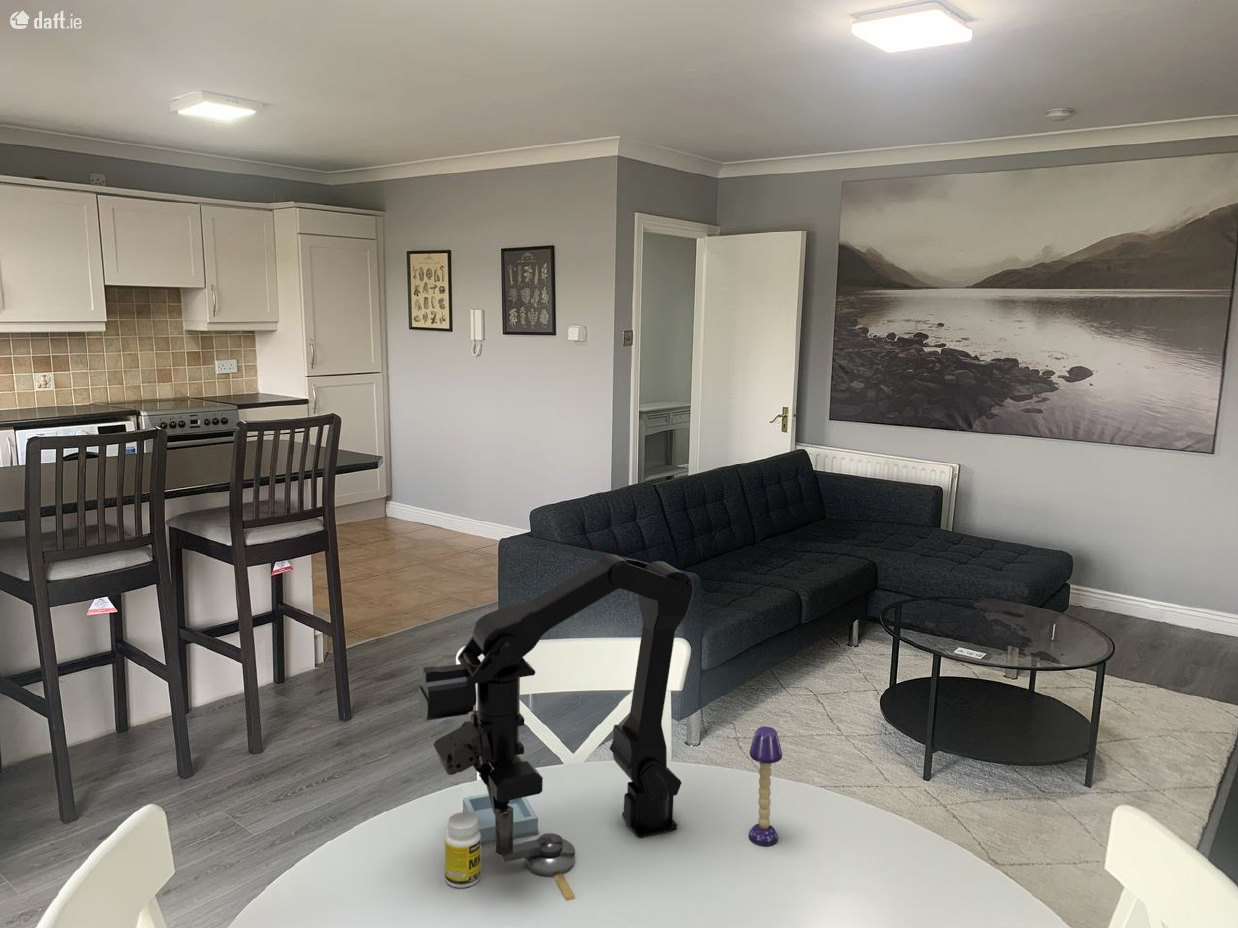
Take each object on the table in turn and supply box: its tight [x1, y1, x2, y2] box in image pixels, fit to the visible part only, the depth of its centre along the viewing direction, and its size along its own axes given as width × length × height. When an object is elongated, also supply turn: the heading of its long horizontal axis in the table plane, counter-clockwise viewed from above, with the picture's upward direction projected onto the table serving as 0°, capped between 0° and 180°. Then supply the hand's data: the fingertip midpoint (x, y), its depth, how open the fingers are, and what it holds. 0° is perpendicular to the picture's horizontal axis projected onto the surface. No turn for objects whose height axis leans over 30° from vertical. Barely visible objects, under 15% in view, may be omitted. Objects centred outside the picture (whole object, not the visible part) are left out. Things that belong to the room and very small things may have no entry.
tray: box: [462, 793, 539, 846], centre depth 133 cm, size 9×9×2 cm
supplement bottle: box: [444, 811, 482, 889], centre depth 120 cm, size 5×5×8 cm
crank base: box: [523, 838, 576, 901], centre depth 122 cm, size 7×12×2 cm, turn 22°
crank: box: [494, 805, 564, 863], centre depth 123 cm, size 10×4×7 cm, turn 112°
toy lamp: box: [748, 725, 783, 847], centre depth 131 cm, size 5×5×17 cm
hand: (498, 813), depth 124 cm, fingers closed
